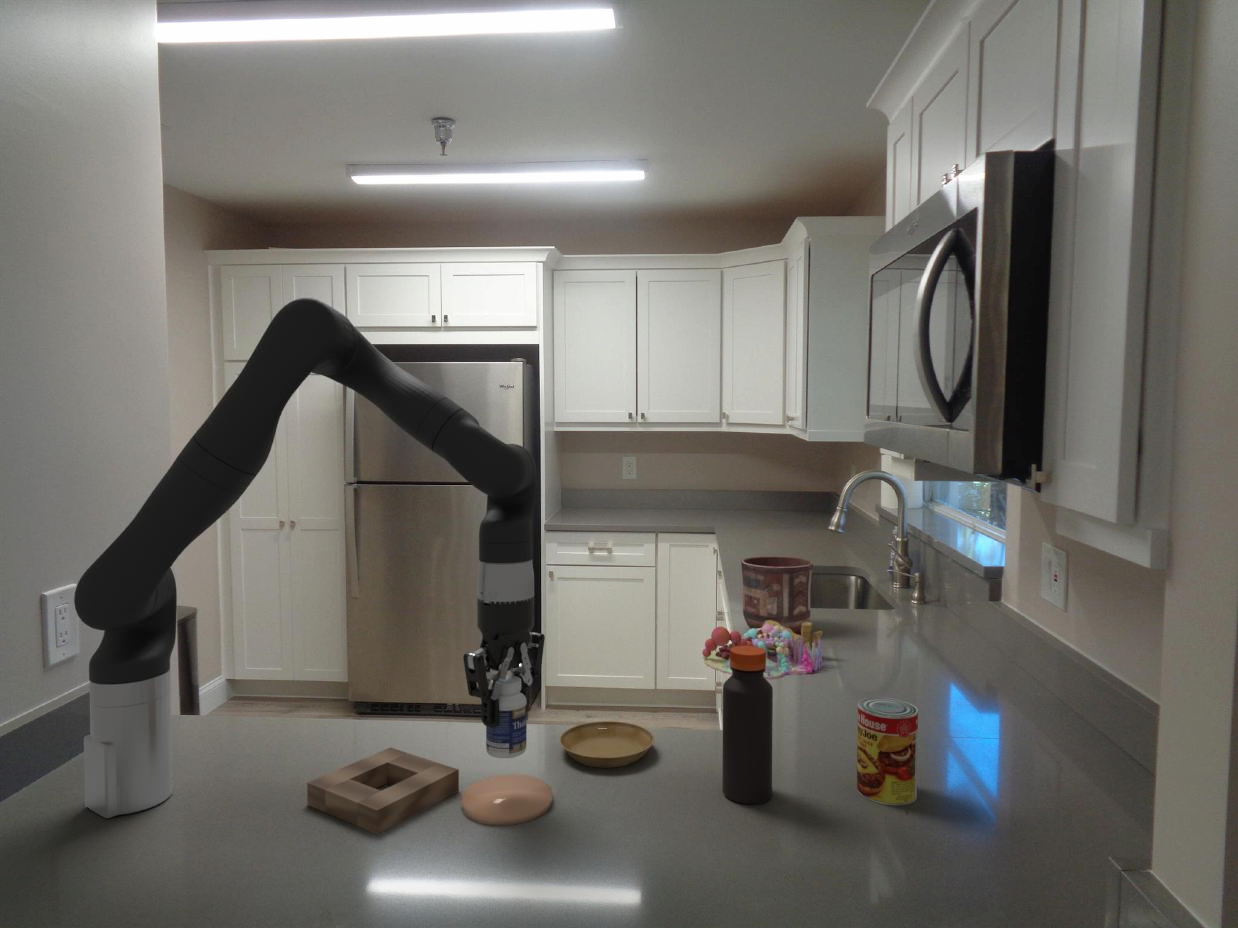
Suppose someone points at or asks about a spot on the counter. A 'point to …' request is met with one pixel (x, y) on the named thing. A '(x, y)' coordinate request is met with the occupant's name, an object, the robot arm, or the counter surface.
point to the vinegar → (747, 728)
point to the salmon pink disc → (506, 799)
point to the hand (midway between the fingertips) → (506, 718)
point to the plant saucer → (606, 743)
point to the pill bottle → (509, 722)
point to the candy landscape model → (769, 649)
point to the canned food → (887, 751)
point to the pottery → (776, 591)
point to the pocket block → (379, 810)
